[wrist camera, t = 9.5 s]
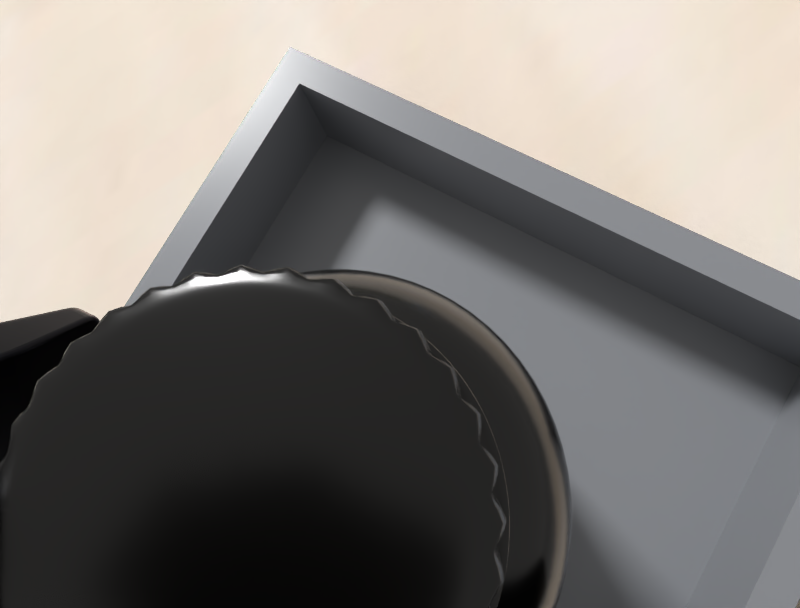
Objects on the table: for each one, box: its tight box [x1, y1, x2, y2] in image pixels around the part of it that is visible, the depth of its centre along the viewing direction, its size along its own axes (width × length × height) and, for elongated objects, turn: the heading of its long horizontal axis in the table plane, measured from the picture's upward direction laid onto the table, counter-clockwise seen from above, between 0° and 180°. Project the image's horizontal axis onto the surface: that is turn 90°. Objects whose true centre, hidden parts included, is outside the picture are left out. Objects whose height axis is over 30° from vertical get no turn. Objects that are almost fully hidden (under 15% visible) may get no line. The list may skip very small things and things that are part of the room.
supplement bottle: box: [0, 265, 572, 608], centre depth 11 cm, size 7×7×12 cm
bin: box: [124, 47, 800, 608], centre depth 16 cm, size 16×16×4 cm
